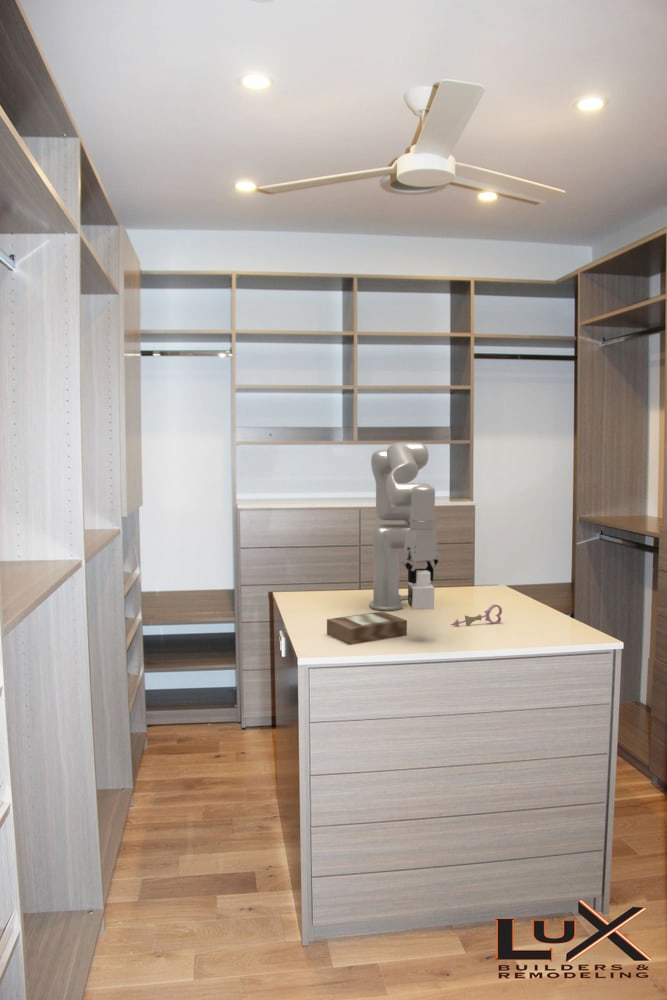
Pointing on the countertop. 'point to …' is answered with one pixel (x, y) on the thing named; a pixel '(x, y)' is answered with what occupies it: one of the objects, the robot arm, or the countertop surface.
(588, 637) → the countertop surface
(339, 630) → the shelf riser
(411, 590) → the medicine bottle
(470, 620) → the decorative key
